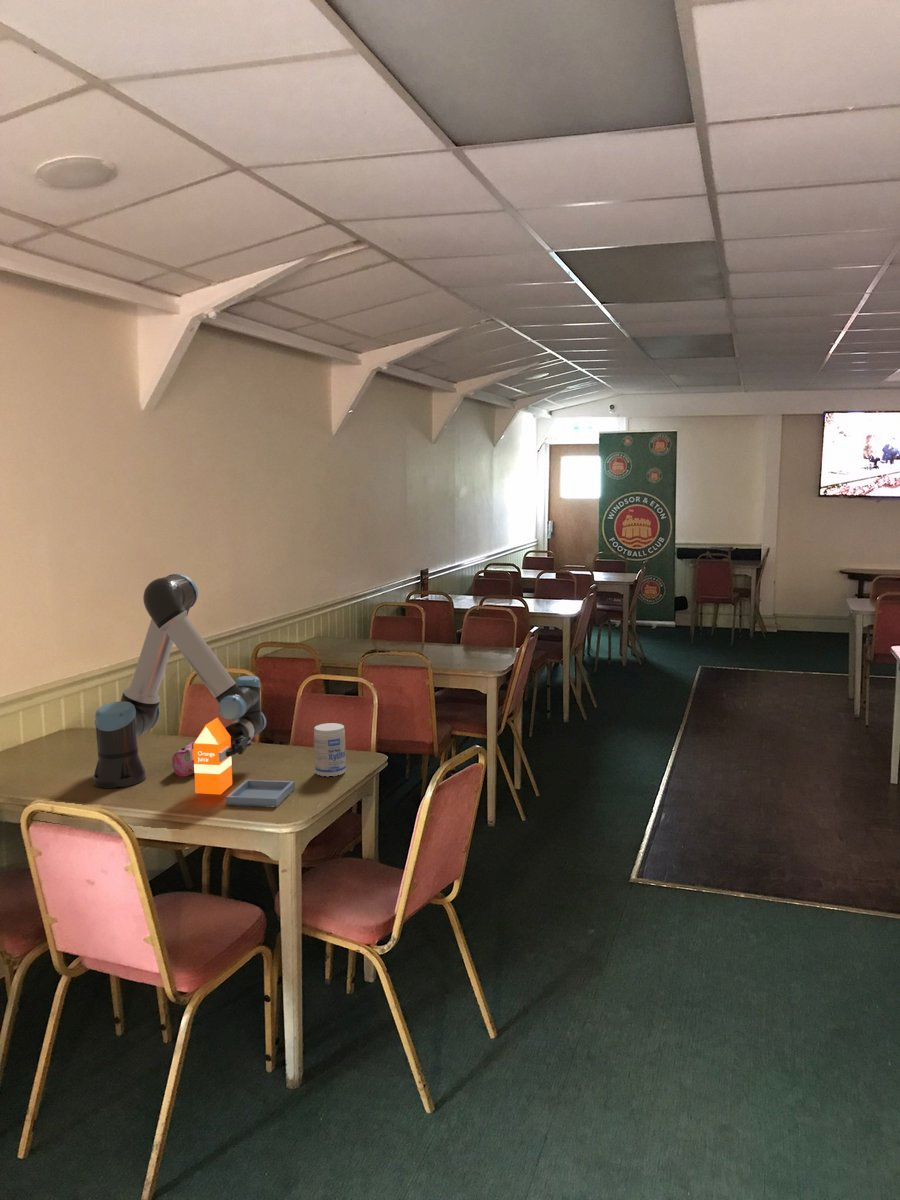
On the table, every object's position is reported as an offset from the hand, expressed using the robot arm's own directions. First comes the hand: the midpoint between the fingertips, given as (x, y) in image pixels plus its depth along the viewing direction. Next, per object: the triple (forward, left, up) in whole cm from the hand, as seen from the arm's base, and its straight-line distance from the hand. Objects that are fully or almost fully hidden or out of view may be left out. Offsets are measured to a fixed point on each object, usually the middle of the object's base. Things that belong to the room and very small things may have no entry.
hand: (205, 756), depth 259 cm
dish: (+13, +6, -14) cm, 20 cm away
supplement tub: (+27, +30, -14) cm, 42 cm away
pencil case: (-18, +32, -14) cm, 39 cm away
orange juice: (0, +5, -11) cm, 12 cm away
